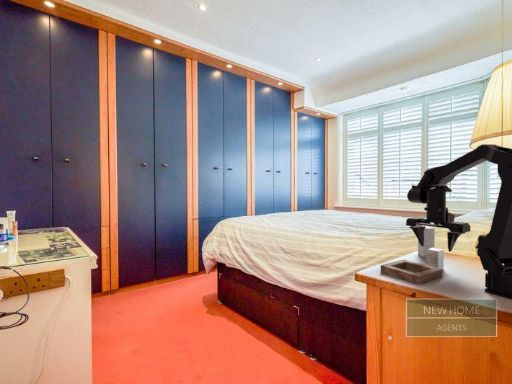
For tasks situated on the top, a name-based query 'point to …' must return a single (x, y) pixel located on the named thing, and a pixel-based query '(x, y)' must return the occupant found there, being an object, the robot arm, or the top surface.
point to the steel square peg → (435, 258)
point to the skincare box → (427, 241)
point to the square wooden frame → (423, 276)
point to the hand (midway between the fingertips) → (435, 248)
